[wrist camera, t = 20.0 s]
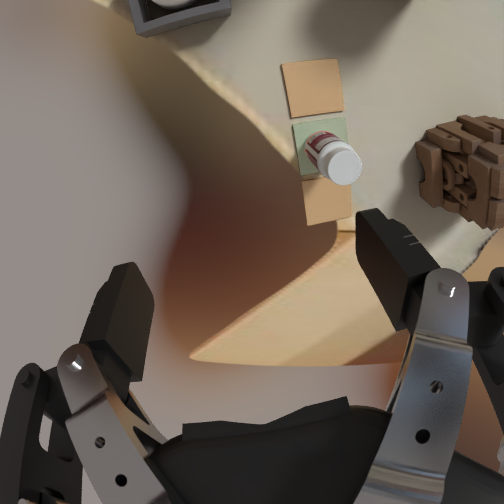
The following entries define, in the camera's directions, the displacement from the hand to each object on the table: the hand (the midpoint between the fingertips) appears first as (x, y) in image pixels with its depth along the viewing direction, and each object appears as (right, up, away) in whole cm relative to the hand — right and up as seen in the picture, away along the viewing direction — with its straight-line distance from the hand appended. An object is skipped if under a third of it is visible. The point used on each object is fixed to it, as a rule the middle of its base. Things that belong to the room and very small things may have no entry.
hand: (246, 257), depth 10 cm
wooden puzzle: (+36, +16, +28) cm, 48 cm away
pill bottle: (+9, +14, +26) cm, 31 cm away
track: (+9, +14, +26) cm, 31 cm away
